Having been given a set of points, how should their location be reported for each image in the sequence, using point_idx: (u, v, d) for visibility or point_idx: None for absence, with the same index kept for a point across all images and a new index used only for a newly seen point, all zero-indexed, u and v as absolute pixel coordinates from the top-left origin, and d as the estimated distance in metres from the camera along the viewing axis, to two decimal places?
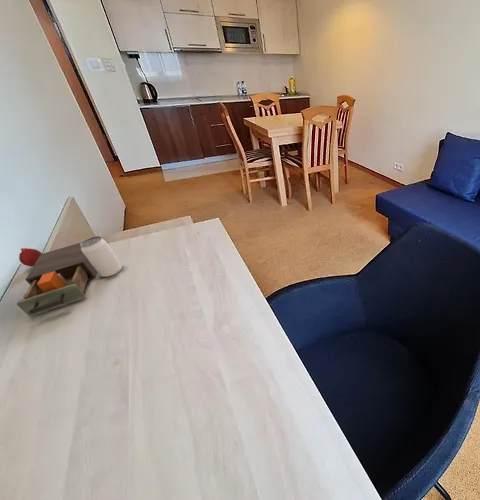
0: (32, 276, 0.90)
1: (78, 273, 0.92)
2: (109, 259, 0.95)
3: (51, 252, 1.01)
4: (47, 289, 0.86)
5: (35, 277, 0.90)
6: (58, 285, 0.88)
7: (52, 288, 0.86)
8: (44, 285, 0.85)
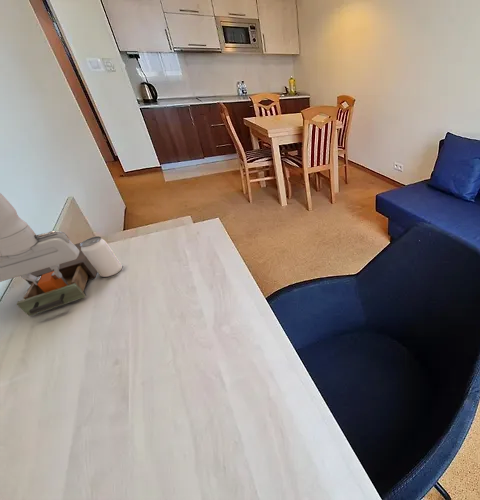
0: None
1: (78, 273, 0.92)
2: (109, 259, 0.95)
3: None
4: (47, 289, 0.86)
5: None
6: (58, 285, 0.88)
7: (52, 288, 0.86)
8: (44, 285, 0.85)
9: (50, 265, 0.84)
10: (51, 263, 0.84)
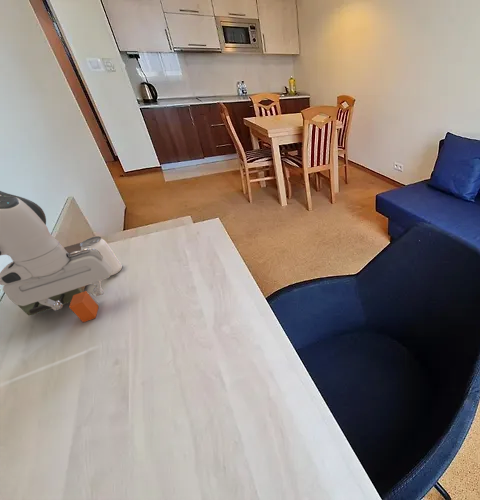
0: None
1: None
2: (109, 259, 0.95)
3: None
4: (79, 311, 0.80)
5: None
6: (90, 307, 0.82)
7: (84, 310, 0.80)
8: (76, 307, 0.79)
9: (82, 285, 0.78)
10: (83, 283, 0.78)
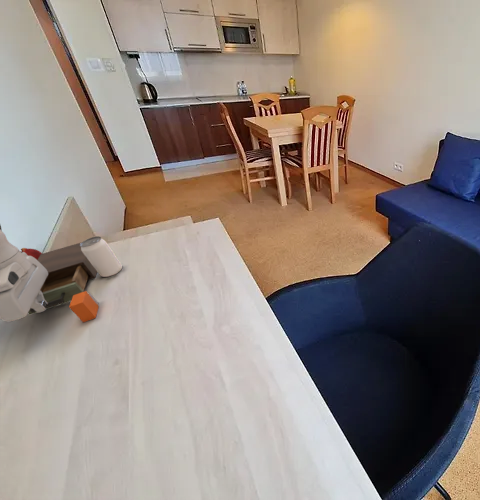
0: None
1: (78, 272, 0.92)
2: (109, 259, 0.95)
3: (51, 252, 1.01)
4: (79, 311, 0.80)
5: None
6: (90, 307, 0.82)
7: (84, 310, 0.80)
8: (76, 307, 0.79)
9: (41, 284, 0.81)
10: (41, 281, 0.81)
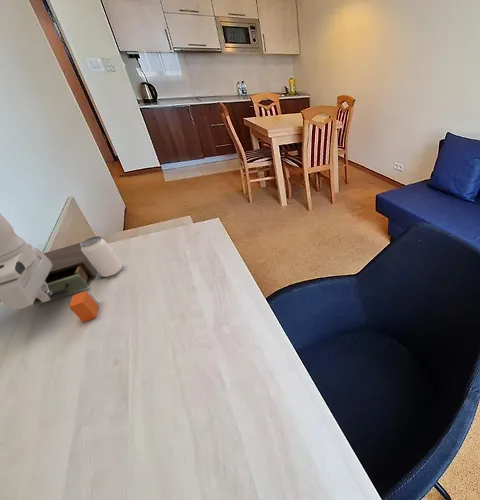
0: None
1: None
2: (109, 259, 0.95)
3: (51, 252, 1.01)
4: (79, 311, 0.80)
5: None
6: (90, 307, 0.82)
7: (84, 310, 0.80)
8: (76, 307, 0.79)
9: (46, 275, 0.84)
10: (46, 272, 0.84)
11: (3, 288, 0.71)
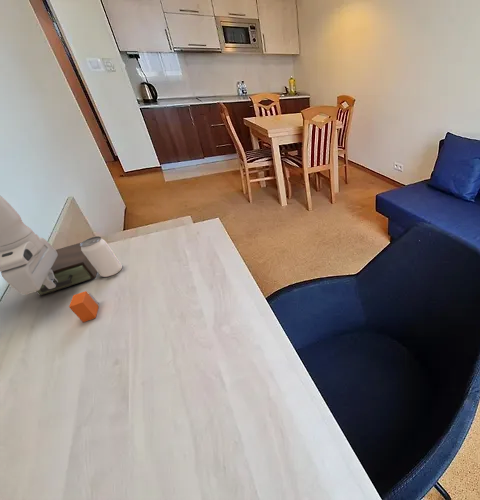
0: None
1: None
2: (109, 259, 0.95)
3: None
4: (79, 311, 0.80)
5: None
6: (90, 307, 0.82)
7: (84, 310, 0.80)
8: (76, 307, 0.79)
9: (52, 263, 0.89)
10: (52, 261, 0.89)
11: (12, 273, 0.75)
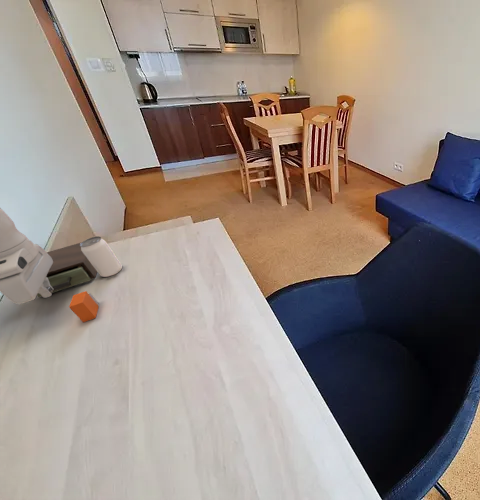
0: None
1: None
2: (109, 259, 0.95)
3: (51, 252, 1.01)
4: (79, 311, 0.79)
5: None
6: (90, 307, 0.82)
7: (84, 310, 0.80)
8: (76, 307, 0.79)
9: (47, 271, 0.85)
10: (47, 268, 0.85)
11: (6, 282, 0.72)
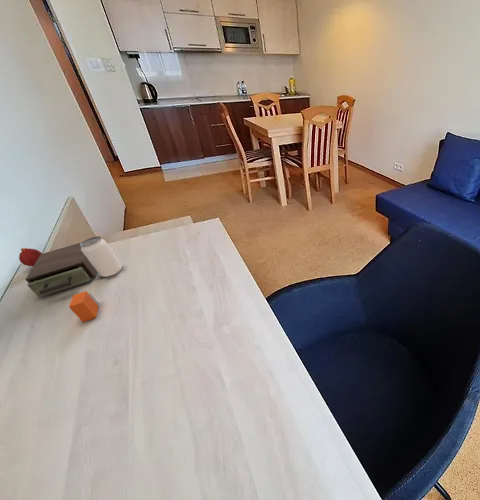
0: (32, 276, 0.90)
1: None
2: (109, 259, 0.95)
3: (51, 252, 1.01)
4: (79, 311, 0.79)
5: (35, 277, 0.90)
6: (90, 307, 0.82)
7: (84, 310, 0.80)
8: (76, 307, 0.79)
9: None
10: None
11: None
